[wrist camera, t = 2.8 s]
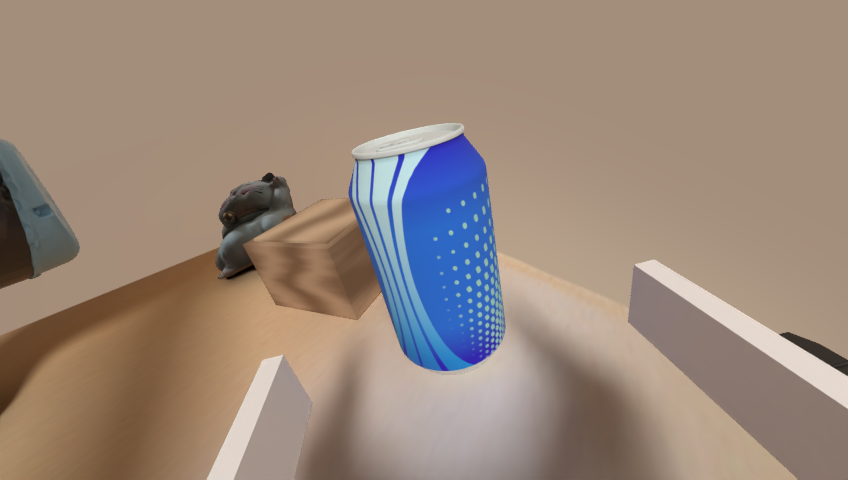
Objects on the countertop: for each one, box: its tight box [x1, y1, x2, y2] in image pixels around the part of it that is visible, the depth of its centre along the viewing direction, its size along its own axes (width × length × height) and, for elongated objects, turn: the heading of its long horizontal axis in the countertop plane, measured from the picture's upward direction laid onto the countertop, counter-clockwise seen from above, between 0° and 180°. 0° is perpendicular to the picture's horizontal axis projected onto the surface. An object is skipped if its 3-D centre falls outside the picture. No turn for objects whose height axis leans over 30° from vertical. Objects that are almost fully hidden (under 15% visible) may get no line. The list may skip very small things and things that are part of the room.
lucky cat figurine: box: [216, 173, 297, 279], centre depth 46 cm, size 15×12×14 cm
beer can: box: [349, 123, 505, 375], centre depth 21 cm, size 8×8×16 cm
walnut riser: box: [243, 198, 381, 320], centre depth 35 cm, size 12×12×8 cm
